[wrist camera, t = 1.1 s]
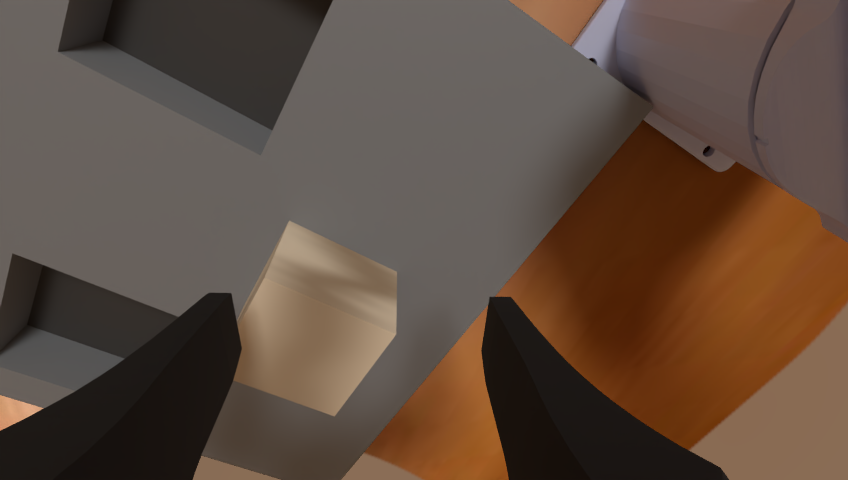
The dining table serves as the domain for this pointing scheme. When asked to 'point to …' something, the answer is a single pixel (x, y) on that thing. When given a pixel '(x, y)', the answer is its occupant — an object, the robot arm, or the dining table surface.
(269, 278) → the birch block
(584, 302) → the dining table surface
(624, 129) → the board
